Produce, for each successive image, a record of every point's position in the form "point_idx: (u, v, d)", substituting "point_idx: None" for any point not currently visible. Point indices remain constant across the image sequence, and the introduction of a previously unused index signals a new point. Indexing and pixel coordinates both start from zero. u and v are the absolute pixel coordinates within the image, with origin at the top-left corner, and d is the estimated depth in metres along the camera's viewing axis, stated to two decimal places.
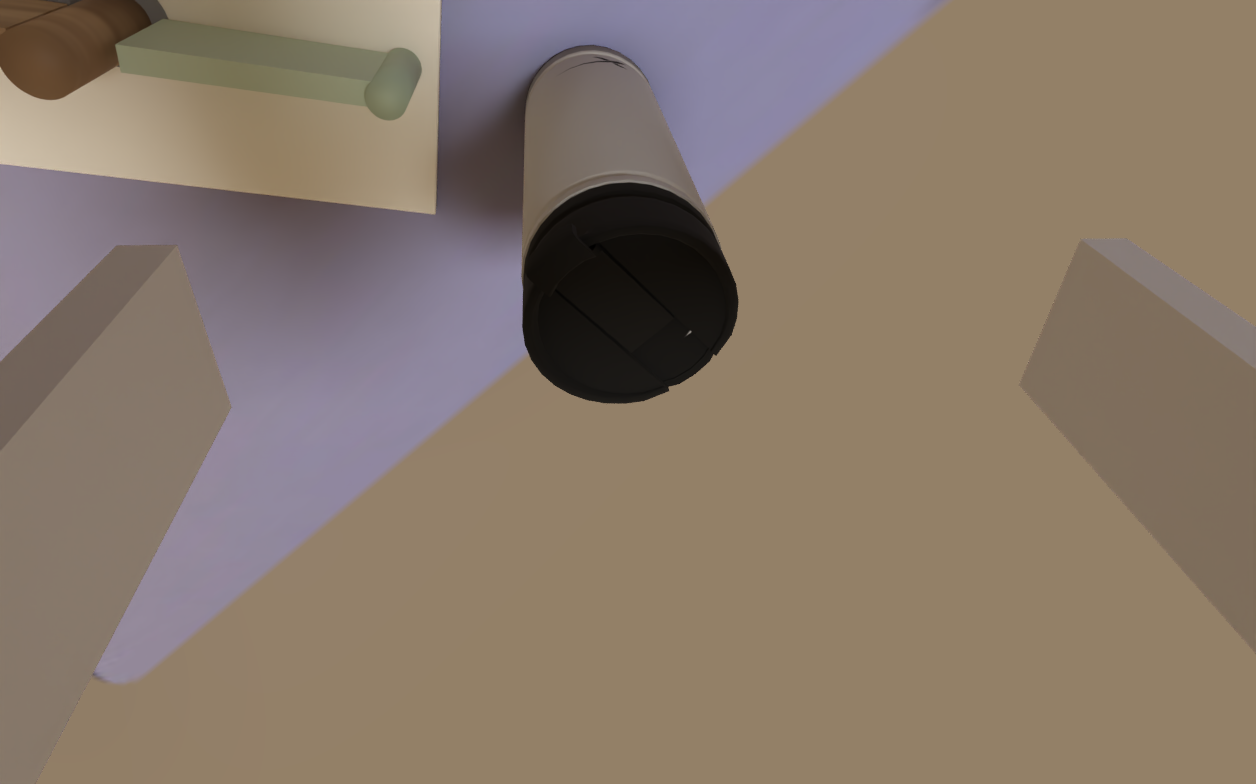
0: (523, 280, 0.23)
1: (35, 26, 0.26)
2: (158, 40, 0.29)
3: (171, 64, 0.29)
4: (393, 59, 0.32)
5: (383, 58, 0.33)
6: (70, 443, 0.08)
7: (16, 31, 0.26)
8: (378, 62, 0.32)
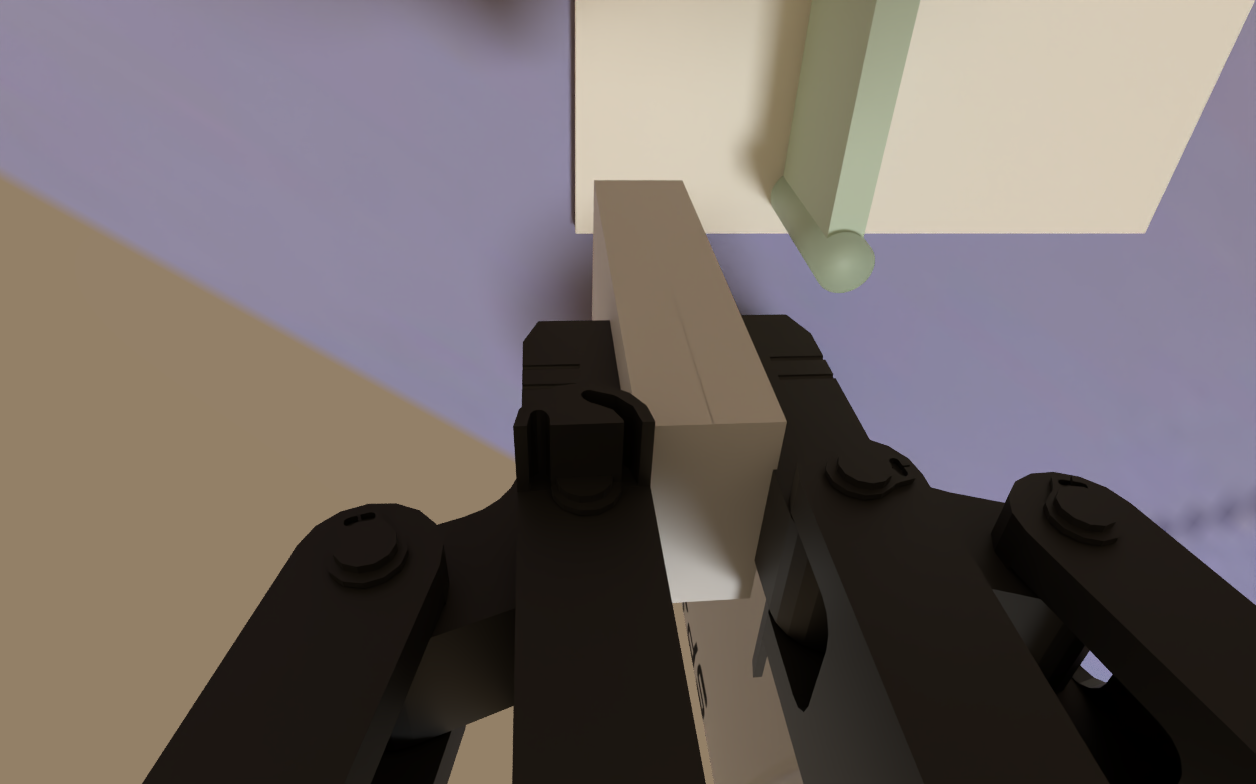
0: None
1: None
2: None
3: None
4: None
5: None
6: None
7: None
8: None
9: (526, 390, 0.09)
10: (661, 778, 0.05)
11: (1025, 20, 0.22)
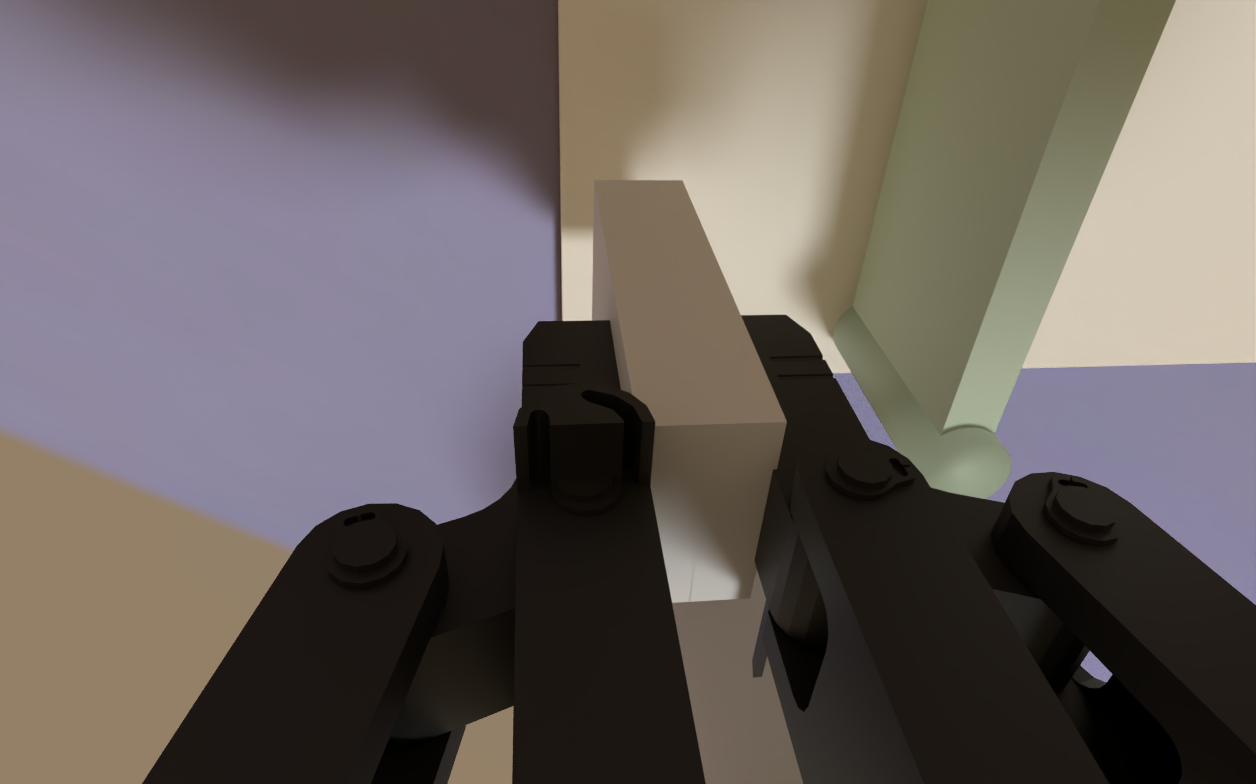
0: None
1: None
2: None
3: None
4: None
5: None
6: None
7: None
8: None
9: (526, 390, 0.09)
10: (662, 778, 0.05)
11: (1206, 95, 0.15)
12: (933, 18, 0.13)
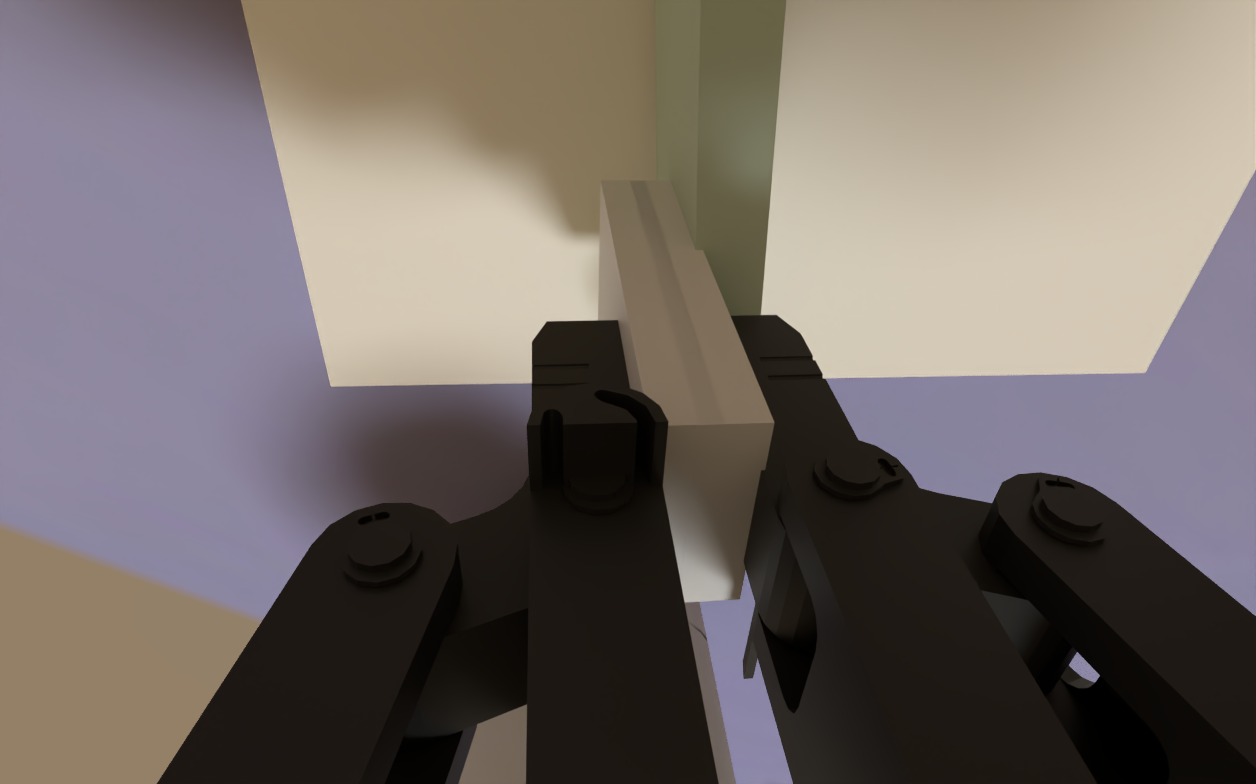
0: None
1: None
2: None
3: None
4: None
5: None
6: None
7: None
8: None
9: (536, 390, 0.09)
10: (674, 778, 0.05)
11: (967, 95, 0.15)
12: (657, 13, 0.13)
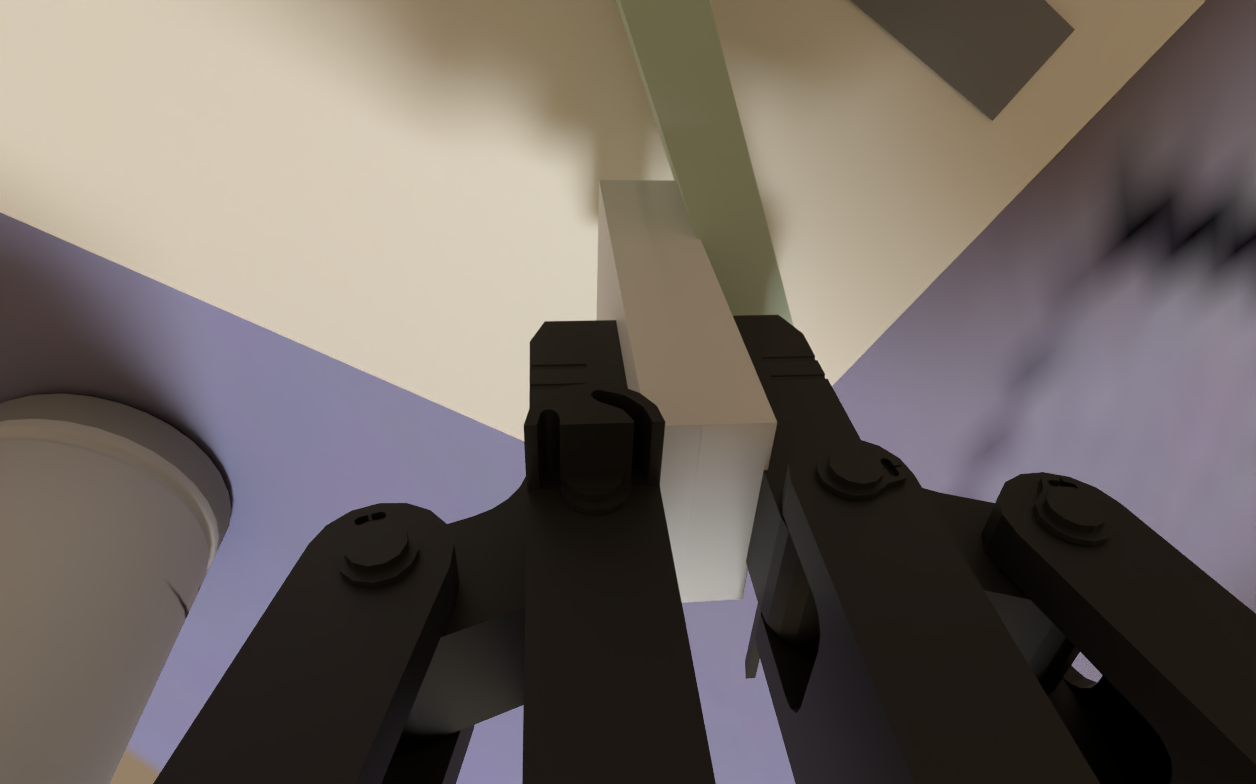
0: None
1: None
2: None
3: None
4: None
5: None
6: None
7: None
8: None
9: (533, 390, 0.09)
10: (671, 778, 0.05)
11: None
12: (617, 5, 0.13)
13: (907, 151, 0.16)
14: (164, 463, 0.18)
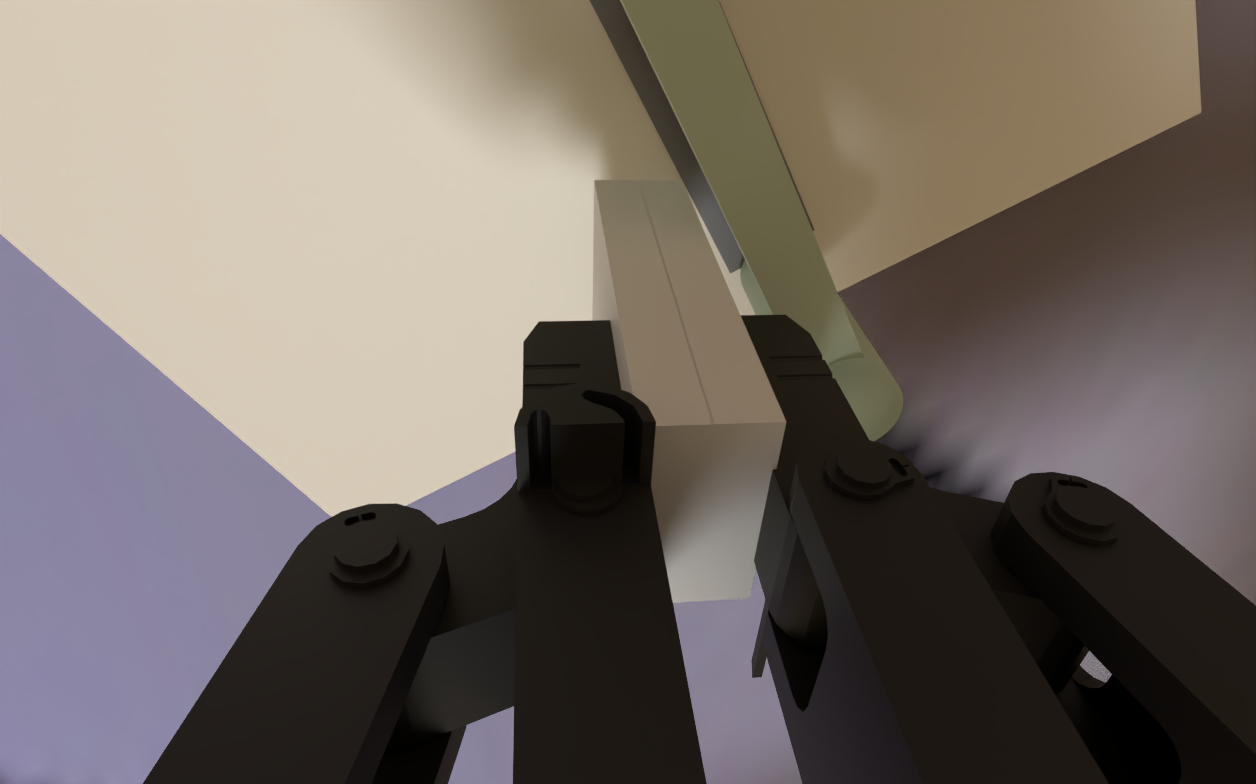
0: None
1: None
2: None
3: None
4: (839, 296, 0.15)
5: None
6: None
7: None
8: None
9: (526, 390, 0.09)
10: (662, 778, 0.05)
11: (384, 198, 0.15)
12: None
13: None
14: None
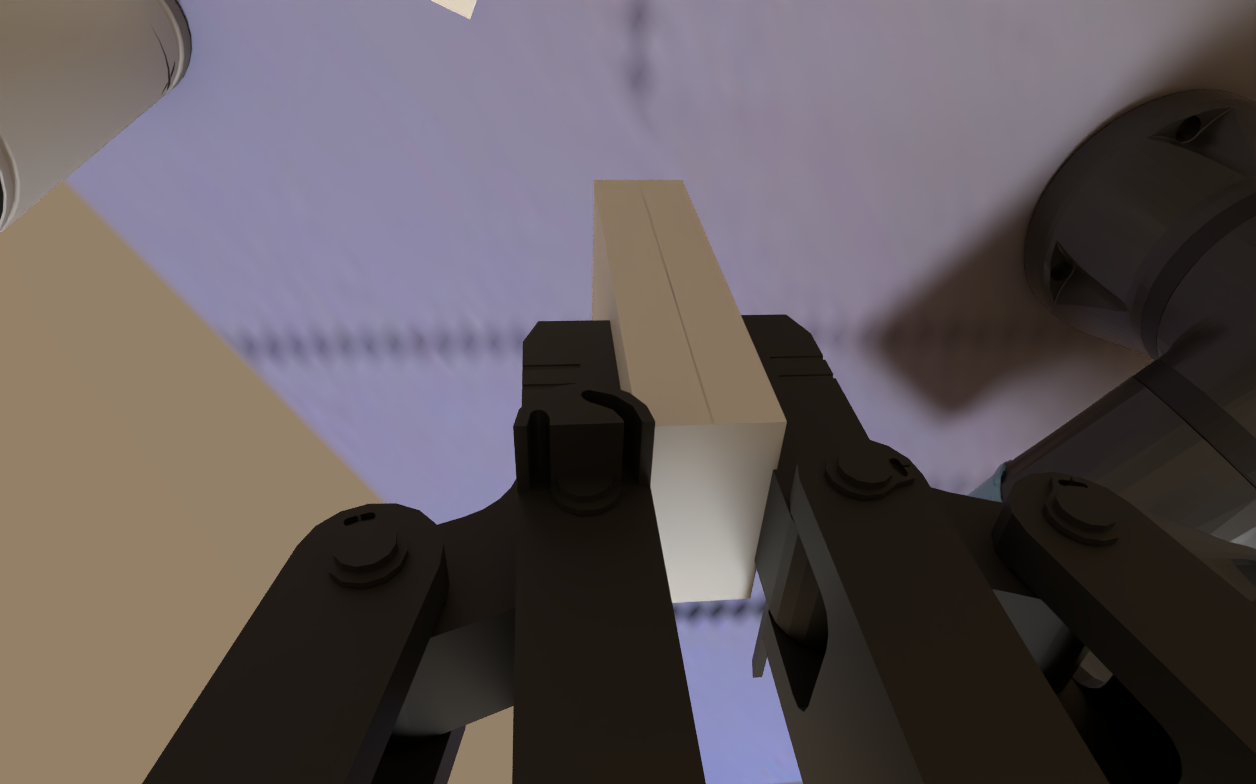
0: None
1: None
2: None
3: None
4: None
5: None
6: None
7: None
8: None
9: (526, 390, 0.09)
10: (662, 778, 0.05)
11: None
12: None
13: None
14: None
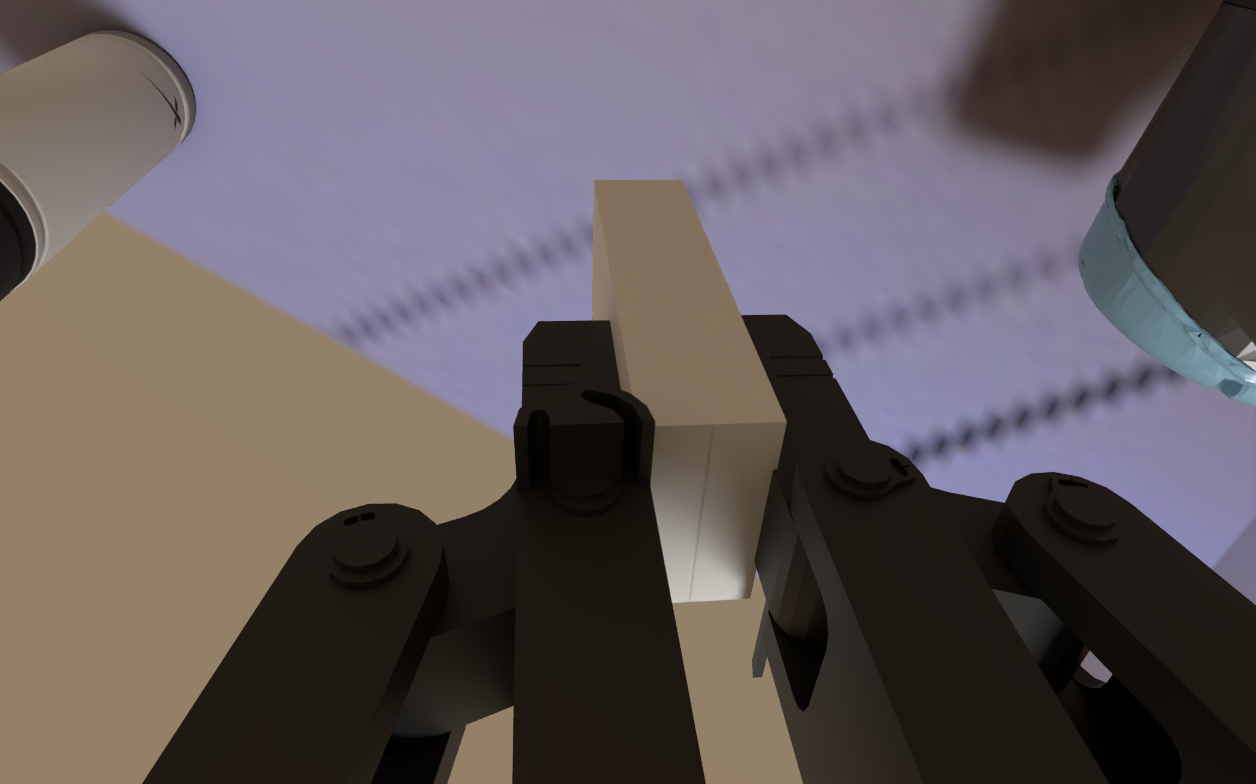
0: None
1: None
2: None
3: None
4: None
5: None
6: None
7: None
8: None
9: (526, 390, 0.09)
10: (661, 778, 0.05)
11: None
12: None
13: None
14: (128, 40, 0.38)
